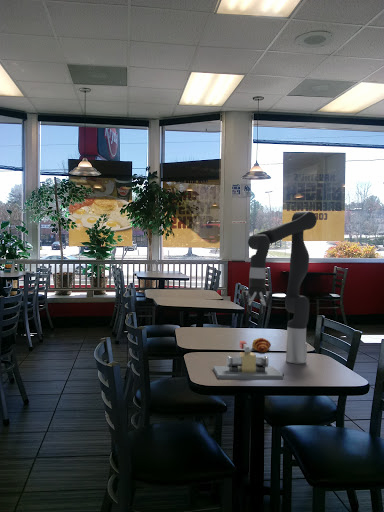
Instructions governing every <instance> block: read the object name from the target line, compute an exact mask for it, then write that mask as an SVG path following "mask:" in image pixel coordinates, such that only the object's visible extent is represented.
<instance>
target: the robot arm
mask: <svg viewBox="0 0 384 512" xmlns="http://www.w3.org/2000/svg"><path fill="white" fill-rule="evenodd" d="M317 220H318V219H317V215H316V214H315V213H314V212H313V211H309V210H307V211H306V210H301V211H296V212H294V213H293V215H292V217H291V221H289V222H285V223H281V224H278V225H275V226H273V227H271V228H269V229H267V230H264V231H260V232H256V233H254V234H252V235H250V237H249V238H248V239H247V240H248V241H247V245H248V247H249V248H250V249H252V250H256V251H255V254H253V255H251V257H250V263H249V264H250V265H249V266H250V268H249V278H248V279H249V280H248V281H249V282H248V289H247V290H242V291H241V293H242V301H243V304H244V305H247V307H246V308H247V312H248V314H252V303H253V301H254V300H260V303H261V314H262V315H264V314H265V313H266V306H268V305H270V303H271V298H272V294H273V293H272V291H268V290H266V283H267V282H266V281H267V280H266V279H267V272H266V270H267V269H266V267H267V266H266V264H267V263H266V262H267V261H266V259H267V257H268V254H269V251H270V250H269V249H270V245H271V244H274V243H277V242H279V241H281V240H284V239H285V238H287V237H289V236H291V244H290V245H291V246H290V257H289V259H290V260H289V273H288V274H289V275H288V281H287V282H288V283H287V289H286V294H285V299H284V300H285V301H284V303H285V304H284V305H285V306H284V307H285V310H286V311H287V312H289V313H291V314H293V318H292V319H290V320H288V321H287V324H286V326H287V329H286V349H285V350H286V352H285V353H286V355H285V357H286V358H285V362H286V363H289V364H299V365H301V364H307V359H308V358H307V357H308V343H307V341H306V340H307V325H308V322H309V317H310V316H309V315H310V301H309V298H308V297H307V296H305V295H300V289H301V286H302V285H301V284H302V283H303V280H304V279H305V277H306V275H307V273H308V271H309V267H310V266H309V265H310V264H309V263H310V254H309V251H308V248H307V247H306V244H305V240H304V231H307V230H312V229H313V228H314V227H315V226H316V224H317ZM248 295H249V298H248V299H247V296H248ZM265 295H266V300H265V298H264V296H265Z"/></svg>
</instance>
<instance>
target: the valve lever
mask: <svg viewBox="0 0 384 512" xmlns="http://www.w3.org/2000/svg"><path fill="white" fill-rule="evenodd" d="M239 348H240V349H241V350H244V352H245V353H247V354H250V353H251V352H252V348H250V346H248V344H247V342H246V341H245V340H239Z"/></svg>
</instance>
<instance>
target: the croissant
mask: <svg viewBox="0 0 384 512" xmlns="http://www.w3.org/2000/svg"><path fill="white" fill-rule="evenodd" d="M271 345H272V343H271V342H270V341H269V340H268V339H266V338H264V337H258V338H255V339H254V340H253V342H252V344H251V348H252V349H253V350H254V351H257V352H260V353H267V351H269V350H270V349H271Z"/></svg>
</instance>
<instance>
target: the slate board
mask: <svg viewBox="0 0 384 512" xmlns="http://www.w3.org/2000/svg"><path fill="white" fill-rule="evenodd" d="M212 370H213V371H214V372H213V373H214V374H215V375H216V376H217V378H218V379H219V380H222V379H223V380H226V379H227V380H237V379H238V380H240V379H241V380H283V379H284V376H283V374H282V373H281V372H280V371H279V370H278V369H276V368H275V367H274V366H268V367H265V372H258V371H257V370H256V368H255V373H245V372H241V371H240V369H239V366H238V372H231V371H230V369H229V367H227V365H226V366H225V365H214V366H212Z"/></svg>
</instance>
